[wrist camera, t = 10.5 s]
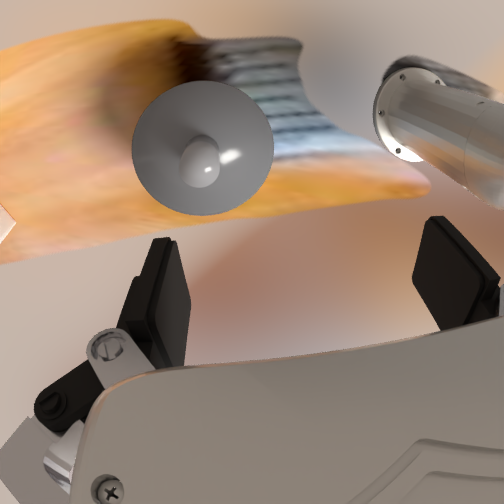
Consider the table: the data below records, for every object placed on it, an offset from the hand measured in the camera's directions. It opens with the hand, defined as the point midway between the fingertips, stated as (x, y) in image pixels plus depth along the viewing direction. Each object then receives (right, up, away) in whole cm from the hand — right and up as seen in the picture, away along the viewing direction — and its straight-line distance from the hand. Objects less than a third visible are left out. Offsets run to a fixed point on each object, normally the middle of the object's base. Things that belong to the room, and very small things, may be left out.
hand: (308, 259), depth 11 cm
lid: (-7, +10, +18) cm, 21 cm away
